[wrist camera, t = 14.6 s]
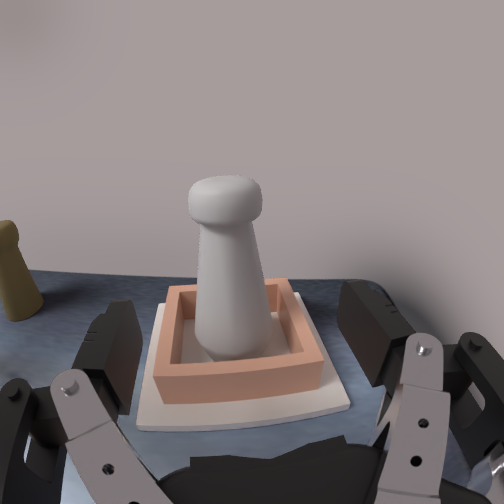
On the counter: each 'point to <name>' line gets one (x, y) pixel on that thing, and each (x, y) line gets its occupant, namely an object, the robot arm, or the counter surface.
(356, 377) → the counter surface
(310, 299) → the counter surface
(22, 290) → the pepper shaker
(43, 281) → the counter surface
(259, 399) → the tray
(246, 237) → the salt shaker
